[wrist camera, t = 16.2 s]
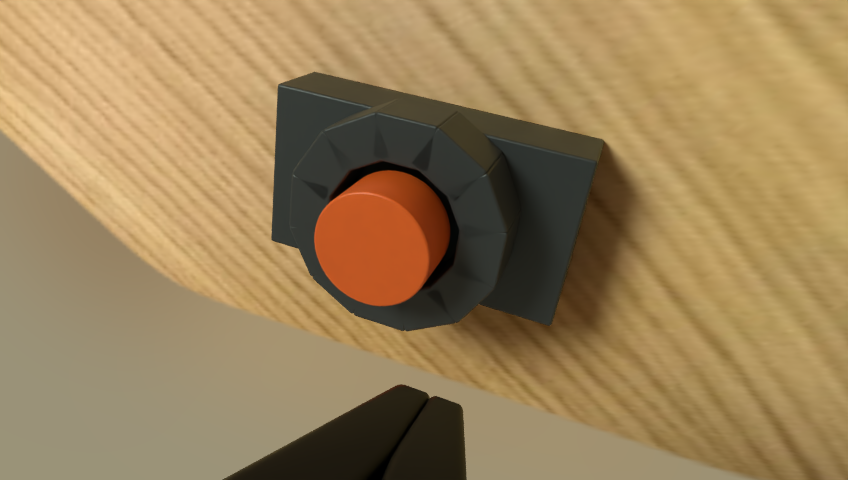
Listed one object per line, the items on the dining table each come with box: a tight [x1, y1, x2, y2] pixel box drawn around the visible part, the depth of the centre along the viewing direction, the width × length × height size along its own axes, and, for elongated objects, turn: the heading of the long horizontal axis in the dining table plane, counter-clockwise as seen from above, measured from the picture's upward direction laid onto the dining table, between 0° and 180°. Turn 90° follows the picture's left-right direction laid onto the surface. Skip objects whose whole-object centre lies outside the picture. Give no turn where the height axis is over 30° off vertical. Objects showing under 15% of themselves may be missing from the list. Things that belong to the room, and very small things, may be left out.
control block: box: [272, 72, 604, 331], centre depth 18 cm, size 9×6×4 cm, turn 81°
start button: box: [314, 170, 450, 306], centre depth 16 cm, size 3×3×2 cm
